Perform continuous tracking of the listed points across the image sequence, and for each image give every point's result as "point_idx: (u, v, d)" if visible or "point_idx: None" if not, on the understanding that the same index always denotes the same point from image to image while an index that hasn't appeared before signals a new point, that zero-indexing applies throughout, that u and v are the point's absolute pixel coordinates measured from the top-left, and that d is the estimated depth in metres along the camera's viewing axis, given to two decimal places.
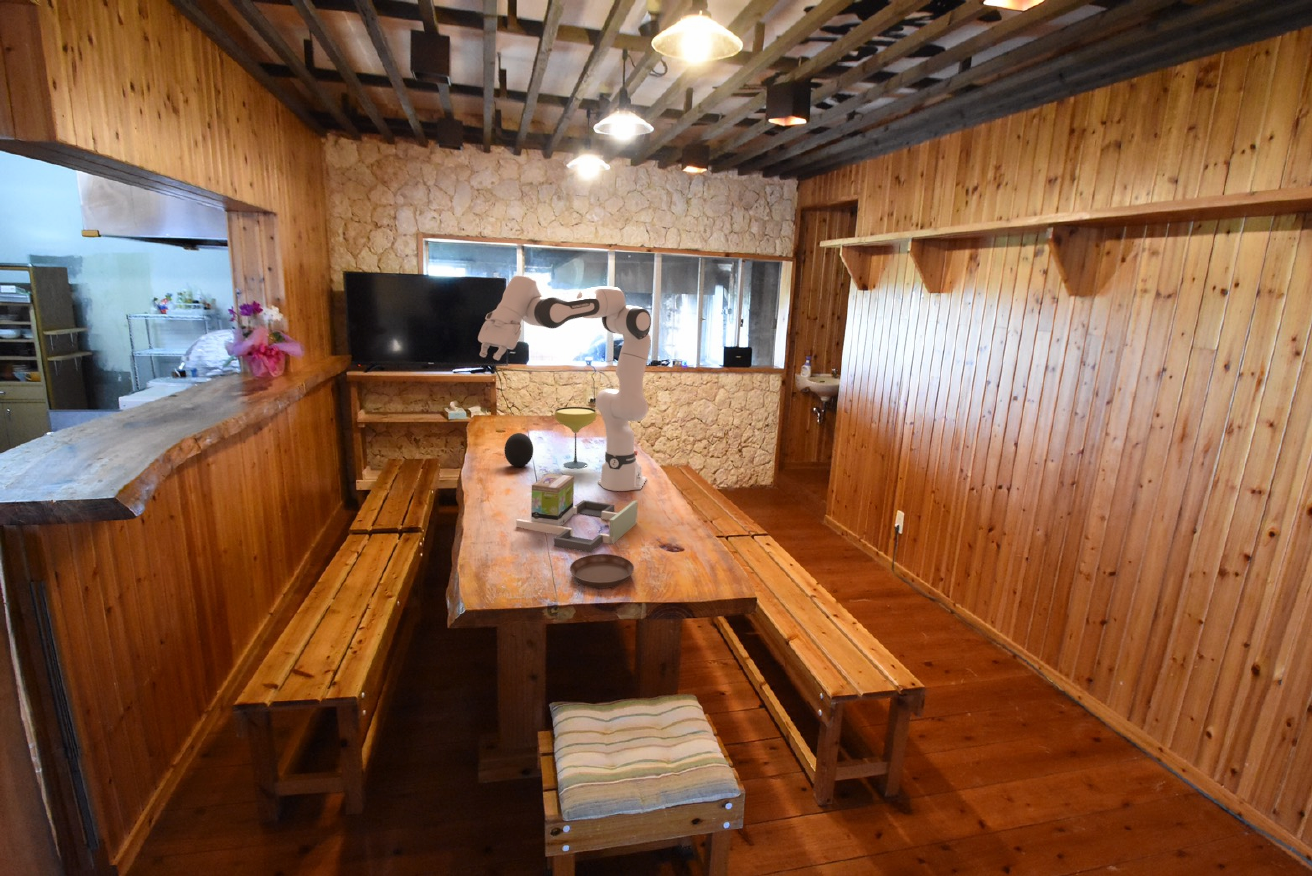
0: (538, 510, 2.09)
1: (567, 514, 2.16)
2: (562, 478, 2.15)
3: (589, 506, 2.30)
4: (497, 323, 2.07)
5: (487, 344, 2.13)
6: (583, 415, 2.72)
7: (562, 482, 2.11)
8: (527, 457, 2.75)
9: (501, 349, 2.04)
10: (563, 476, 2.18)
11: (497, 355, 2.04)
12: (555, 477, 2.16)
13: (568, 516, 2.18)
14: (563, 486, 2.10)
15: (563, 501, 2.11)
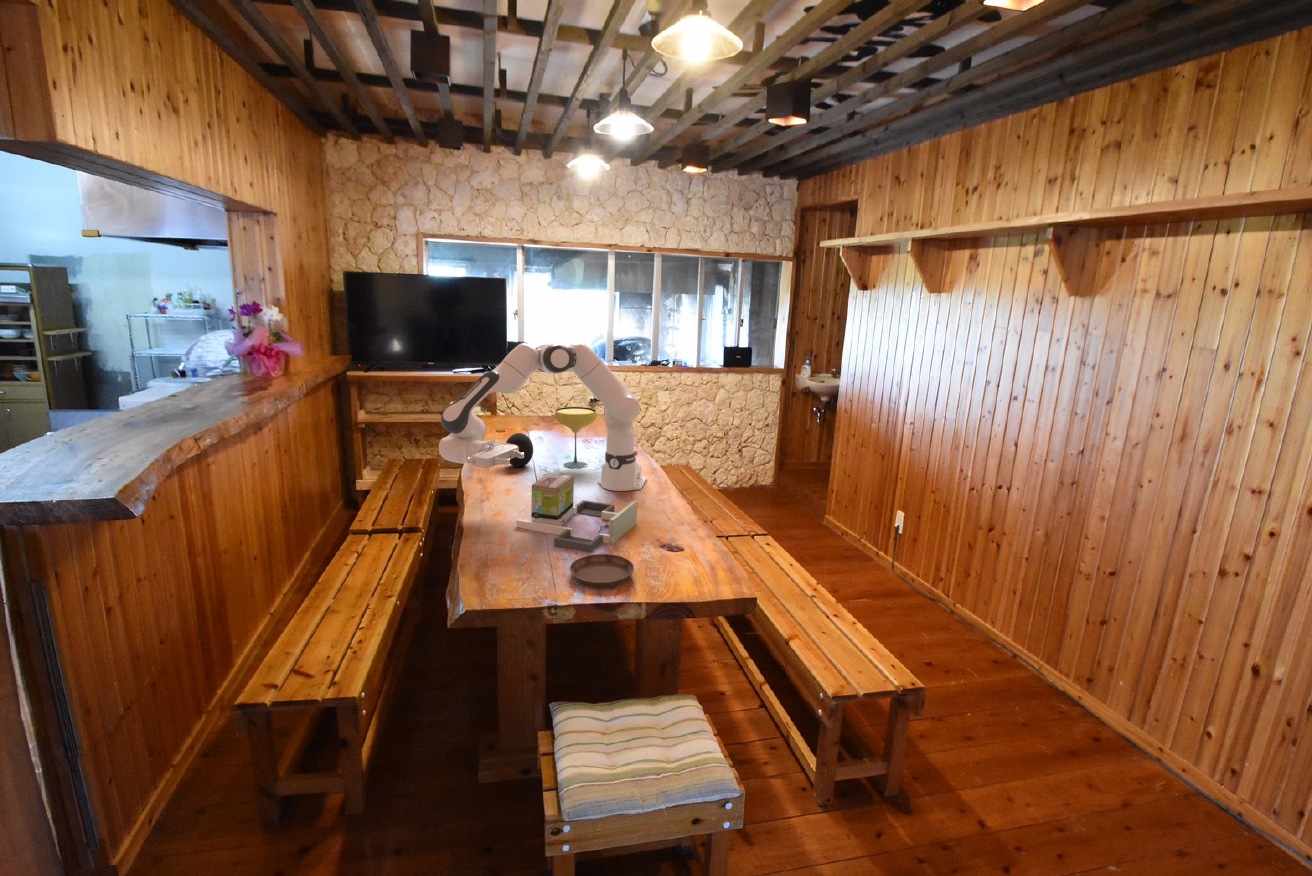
0: (538, 510, 2.09)
1: (567, 514, 2.16)
2: (562, 478, 2.15)
3: (589, 506, 2.30)
4: None
5: (512, 453, 2.23)
6: (583, 415, 2.72)
7: (562, 482, 2.11)
8: (527, 457, 2.75)
9: (496, 463, 2.12)
10: (563, 476, 2.18)
11: (504, 463, 2.12)
12: (555, 477, 2.16)
13: (568, 516, 2.18)
14: (563, 486, 2.10)
15: (563, 501, 2.11)
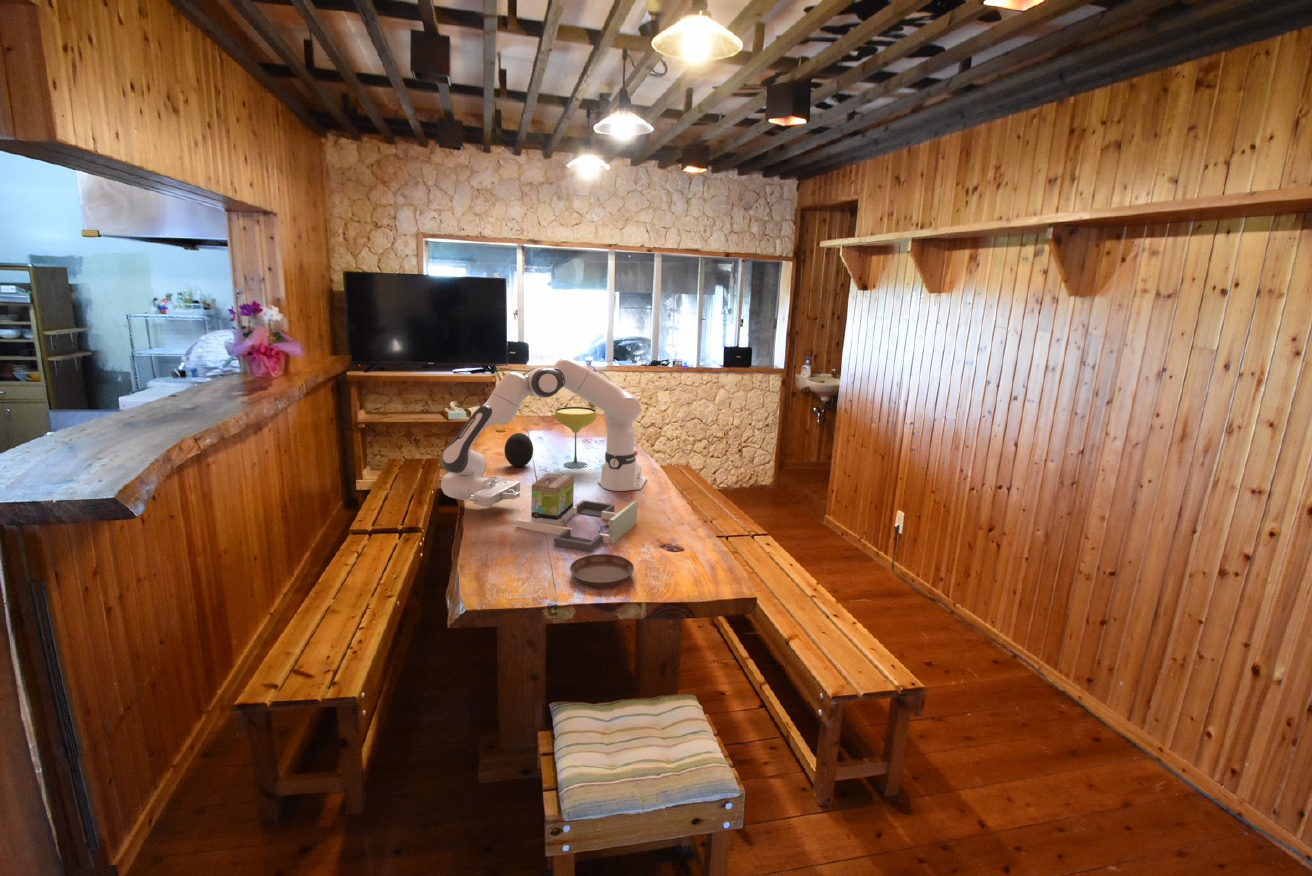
0: (538, 510, 2.09)
1: (567, 514, 2.16)
2: (562, 478, 2.15)
3: (589, 506, 2.30)
4: None
5: (508, 492, 2.22)
6: (583, 415, 2.72)
7: (562, 482, 2.11)
8: (527, 457, 2.75)
9: (504, 497, 2.19)
10: (563, 476, 2.18)
11: (511, 497, 2.19)
12: (555, 477, 2.16)
13: (568, 516, 2.18)
14: (563, 486, 2.10)
15: (563, 501, 2.11)
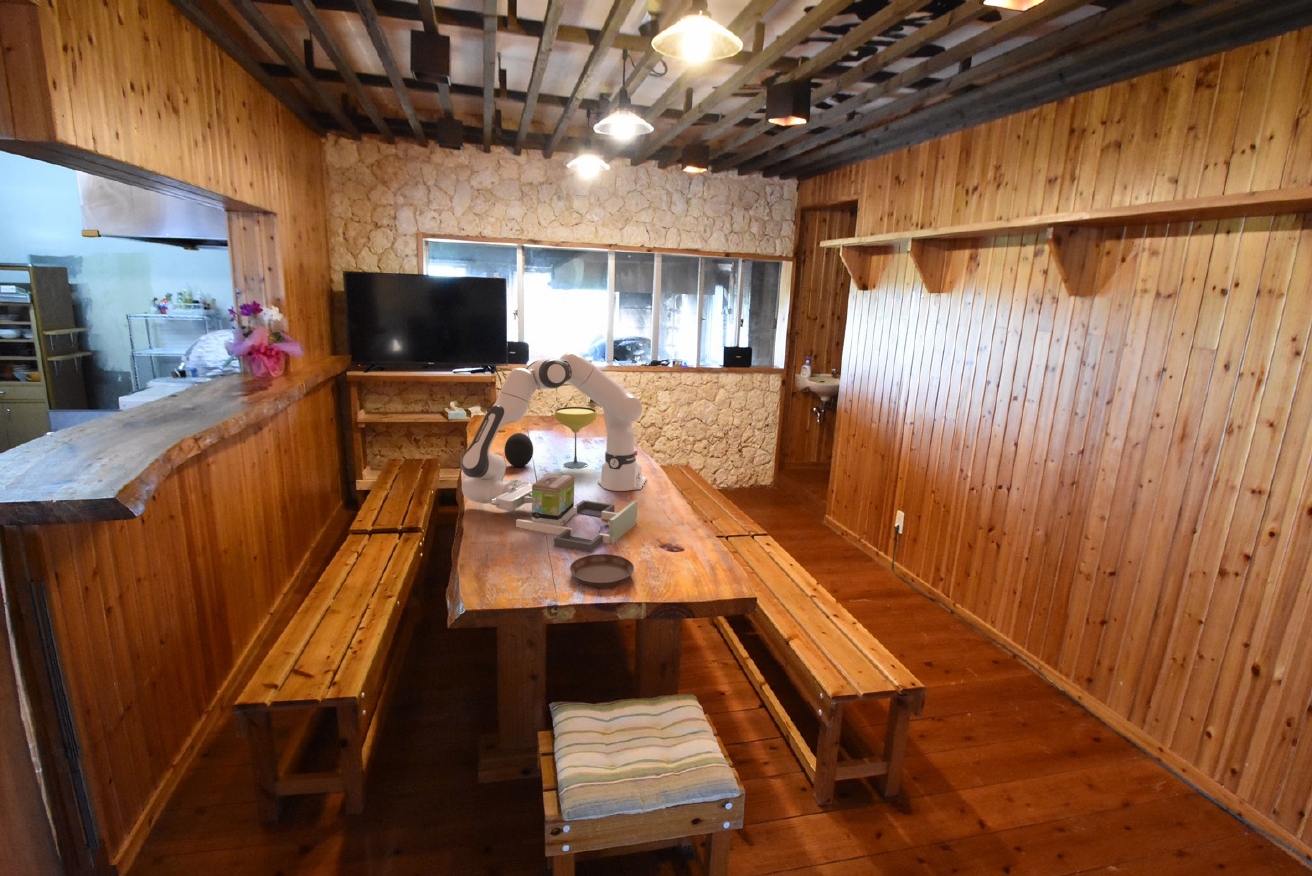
0: (539, 510, 2.08)
1: (568, 514, 2.16)
2: (563, 478, 2.15)
3: (589, 506, 2.30)
4: None
5: (530, 496, 2.19)
6: (583, 415, 2.72)
7: (563, 482, 2.11)
8: (527, 457, 2.75)
9: (527, 501, 2.16)
10: (563, 476, 2.18)
11: None
12: (556, 477, 2.16)
13: (568, 516, 2.17)
14: (563, 486, 2.10)
15: (563, 501, 2.11)
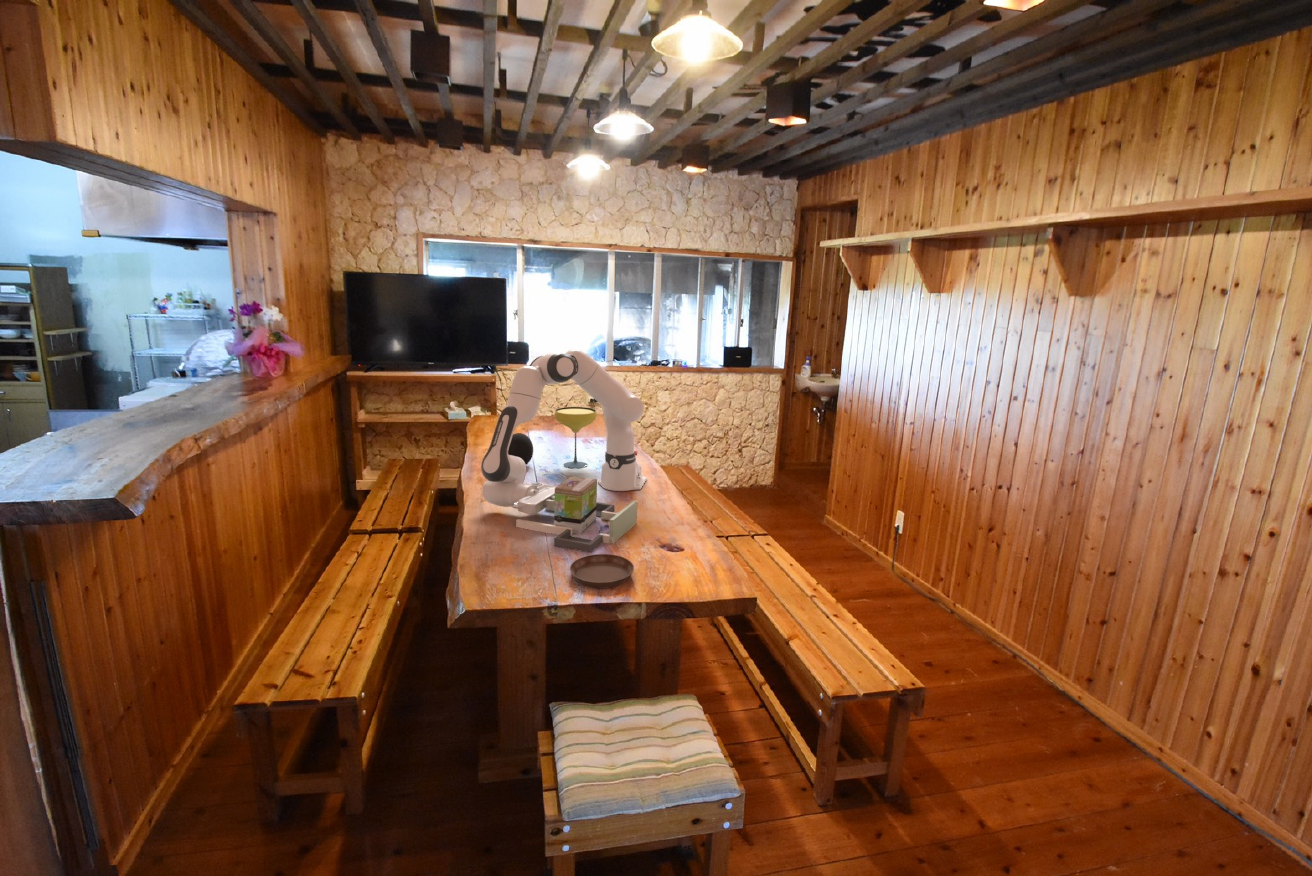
0: (561, 513, 2.06)
1: (590, 518, 2.13)
2: (585, 481, 2.13)
3: None
4: None
5: (551, 499, 2.17)
6: (583, 415, 2.72)
7: (586, 485, 2.08)
8: (527, 457, 2.75)
9: (549, 505, 2.13)
10: (586, 479, 2.15)
11: None
12: (578, 480, 2.13)
13: (591, 520, 2.15)
14: (586, 489, 2.07)
15: (586, 505, 2.08)
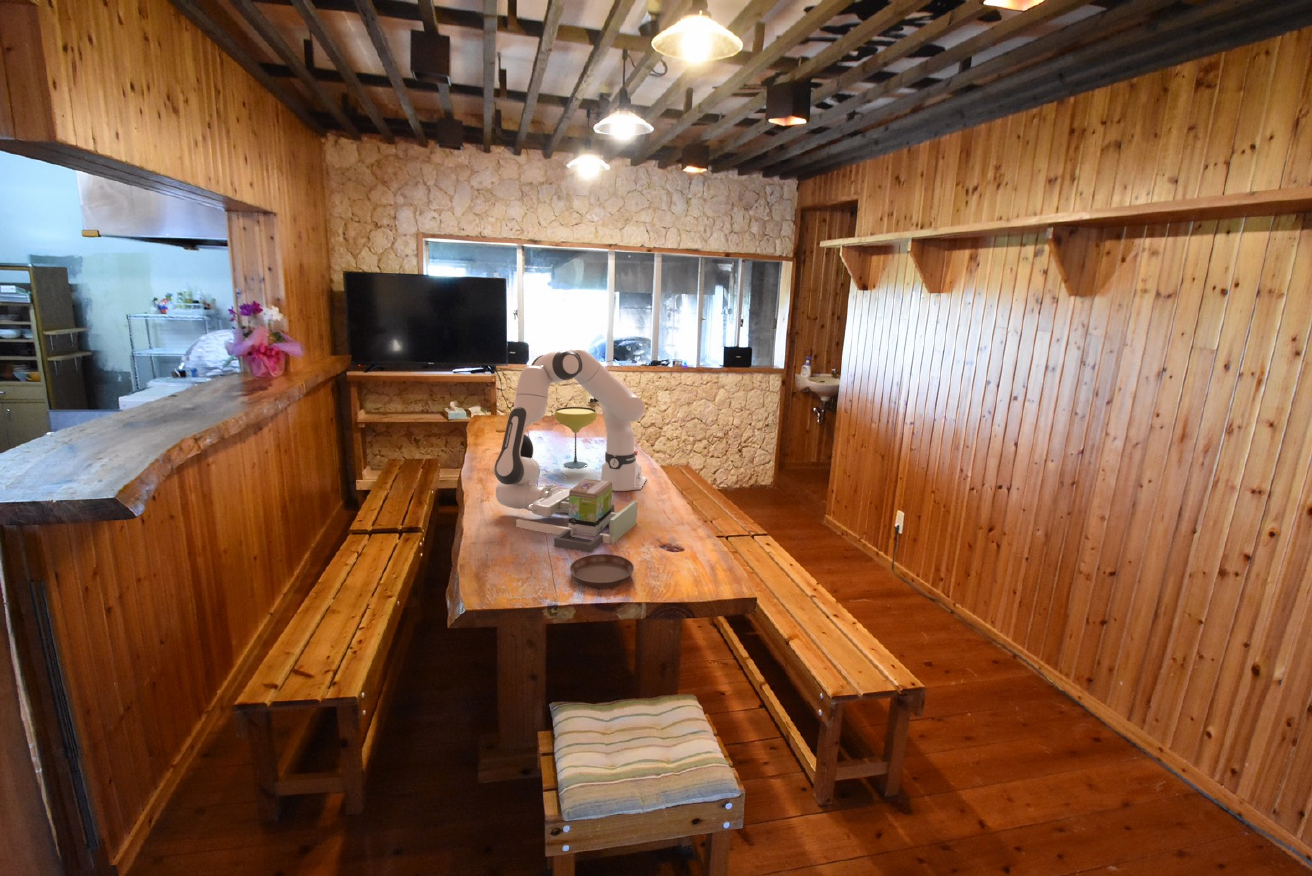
0: (576, 516, 2.04)
1: (605, 520, 2.12)
2: (600, 484, 2.11)
3: None
4: None
5: (566, 502, 2.15)
6: (583, 415, 2.72)
7: (600, 488, 2.06)
8: (527, 457, 2.75)
9: (563, 507, 2.11)
10: (601, 481, 2.14)
11: None
12: (593, 482, 2.12)
13: (606, 523, 2.13)
14: (601, 492, 2.05)
15: (601, 507, 2.06)
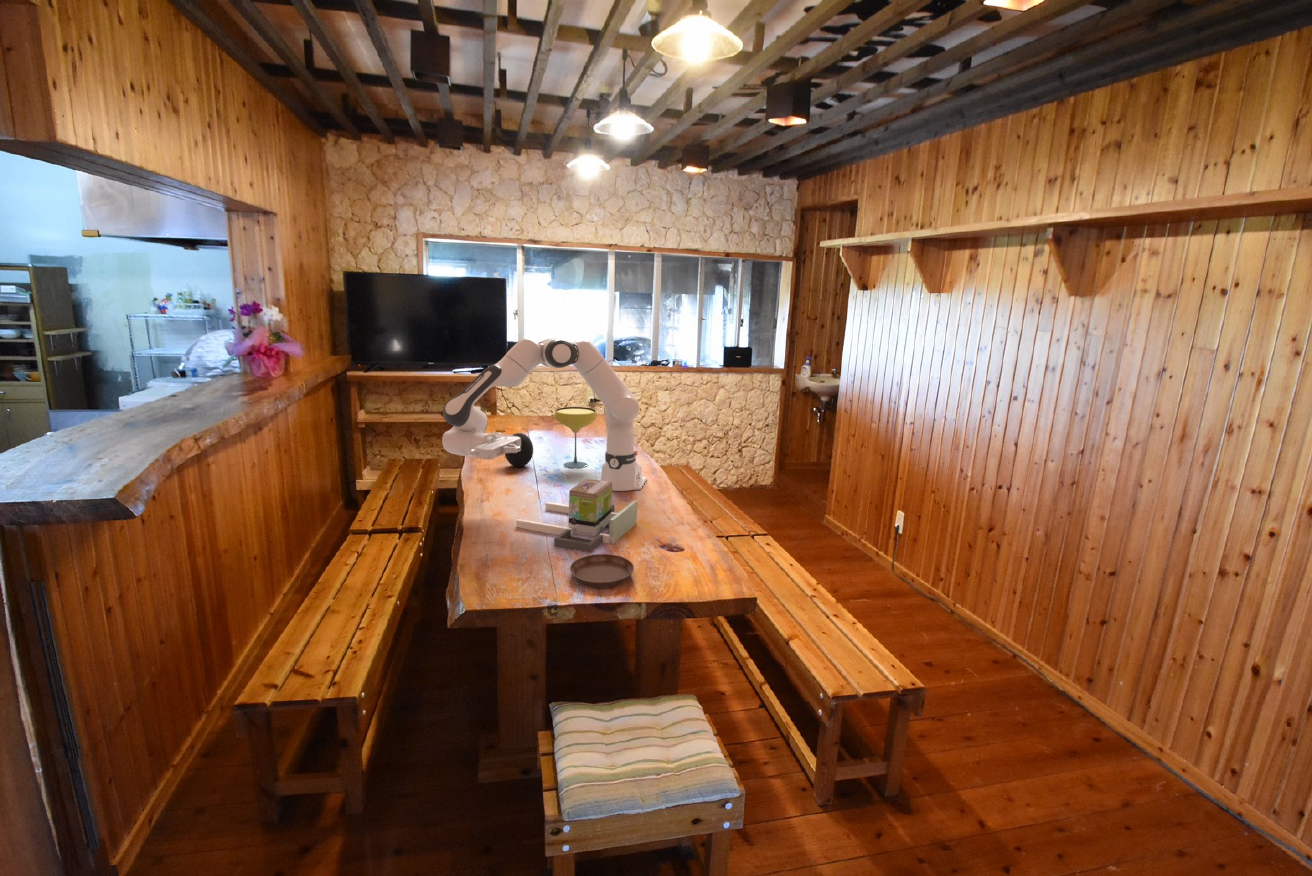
0: (576, 516, 2.04)
1: (605, 520, 2.12)
2: (600, 484, 2.11)
3: None
4: None
5: (509, 447, 2.22)
6: (583, 415, 2.72)
7: (600, 488, 2.06)
8: (527, 457, 2.75)
9: (506, 451, 2.19)
10: (601, 481, 2.14)
11: (513, 451, 2.19)
12: (593, 482, 2.12)
13: (606, 522, 2.13)
14: (601, 492, 2.05)
15: (601, 507, 2.06)
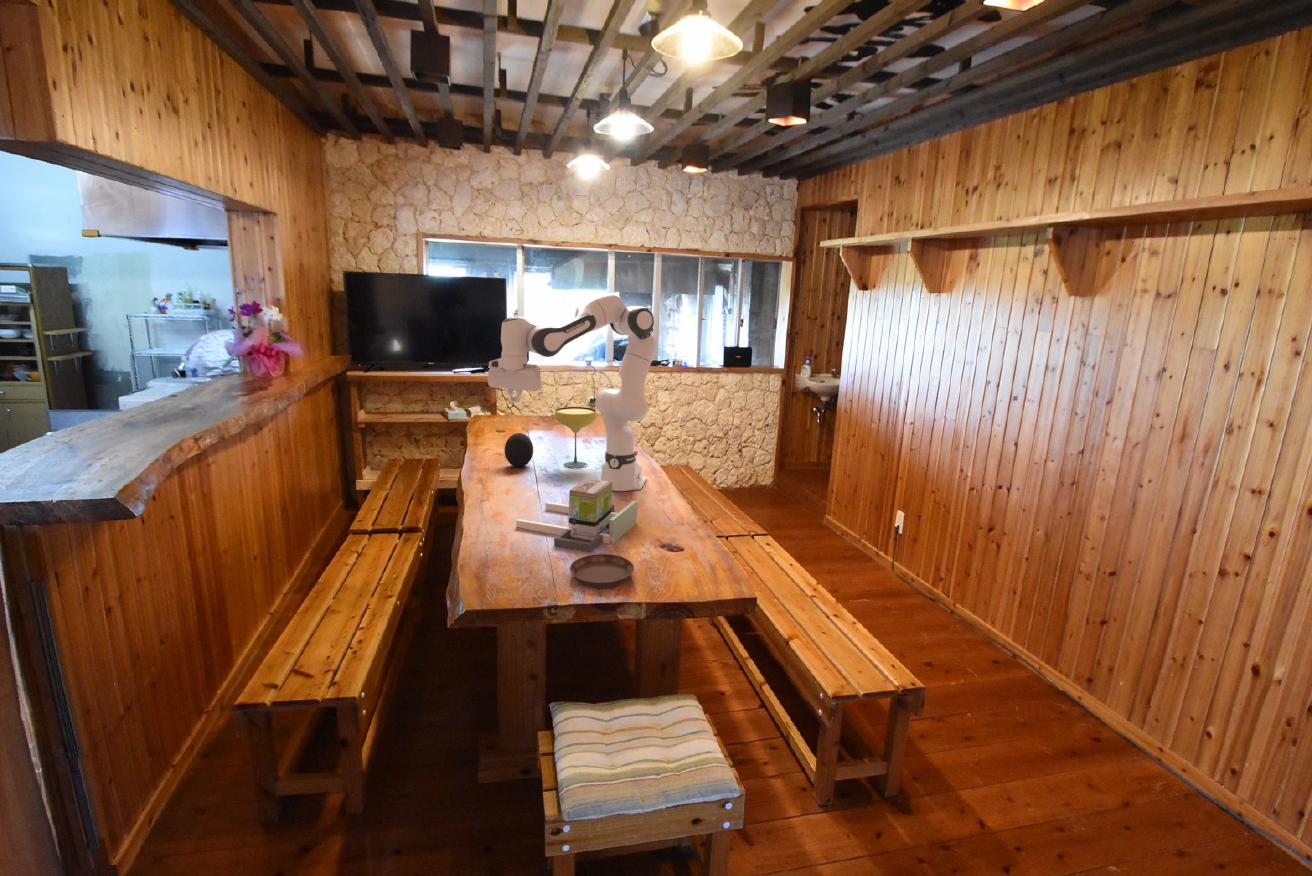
0: (576, 516, 2.04)
1: (605, 520, 2.12)
2: (600, 484, 2.11)
3: None
4: (512, 371, 2.23)
5: (512, 388, 2.28)
6: (583, 415, 2.72)
7: (600, 488, 2.06)
8: (527, 457, 2.75)
9: (519, 392, 2.26)
10: (601, 481, 2.14)
11: (517, 398, 2.27)
12: (593, 482, 2.12)
13: (606, 522, 2.13)
14: (601, 492, 2.05)
15: (601, 507, 2.06)
